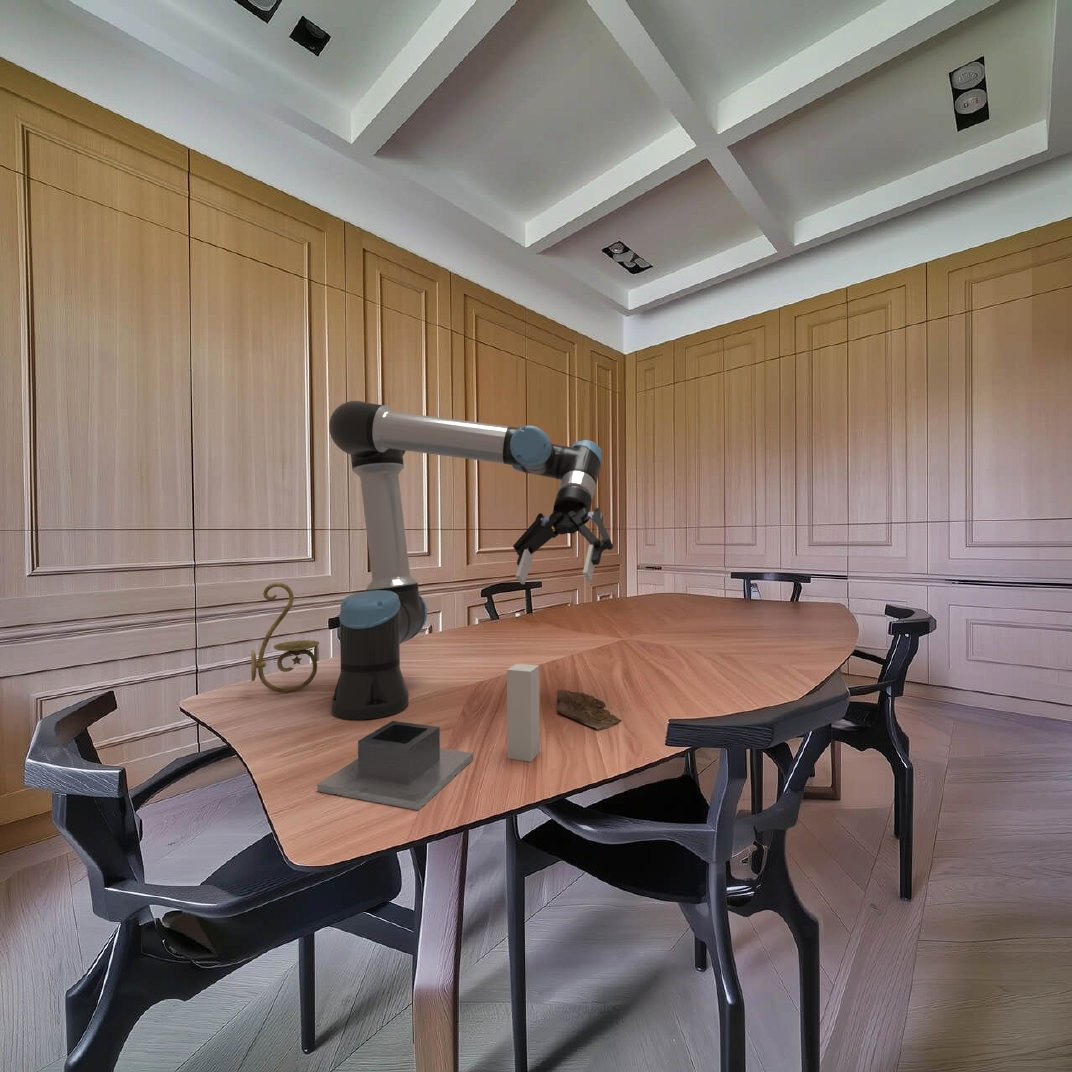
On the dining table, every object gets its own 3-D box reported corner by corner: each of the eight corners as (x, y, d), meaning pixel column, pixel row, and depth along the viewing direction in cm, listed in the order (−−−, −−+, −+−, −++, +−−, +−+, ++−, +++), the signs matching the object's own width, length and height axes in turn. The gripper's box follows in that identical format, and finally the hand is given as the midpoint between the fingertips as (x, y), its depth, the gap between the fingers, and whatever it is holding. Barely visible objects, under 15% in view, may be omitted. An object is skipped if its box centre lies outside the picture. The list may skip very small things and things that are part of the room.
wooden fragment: (628, 730, 94) (628, 724, 94) (570, 735, 92) (570, 729, 92) (588, 689, 119) (588, 685, 119) (541, 693, 117) (541, 688, 117)
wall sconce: (251, 703, 110) (250, 585, 110) (251, 691, 118) (250, 582, 118) (321, 693, 117) (321, 582, 117) (317, 682, 125) (316, 579, 125)
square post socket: (317, 791, 71) (317, 747, 71) (386, 746, 86) (386, 710, 86) (418, 810, 66) (418, 763, 66) (473, 759, 81) (473, 721, 81)
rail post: (507, 758, 82) (506, 669, 82) (516, 748, 85) (516, 663, 85) (531, 761, 80) (530, 671, 80) (539, 751, 84) (539, 665, 84)
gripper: (637, 504, 106) (623, 588, 93) (528, 515, 117) (502, 592, 104) (627, 477, 101) (611, 562, 88) (515, 491, 112) (486, 569, 99)
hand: (552, 578), depth 96 cm, fingers open, 13 cm apart
